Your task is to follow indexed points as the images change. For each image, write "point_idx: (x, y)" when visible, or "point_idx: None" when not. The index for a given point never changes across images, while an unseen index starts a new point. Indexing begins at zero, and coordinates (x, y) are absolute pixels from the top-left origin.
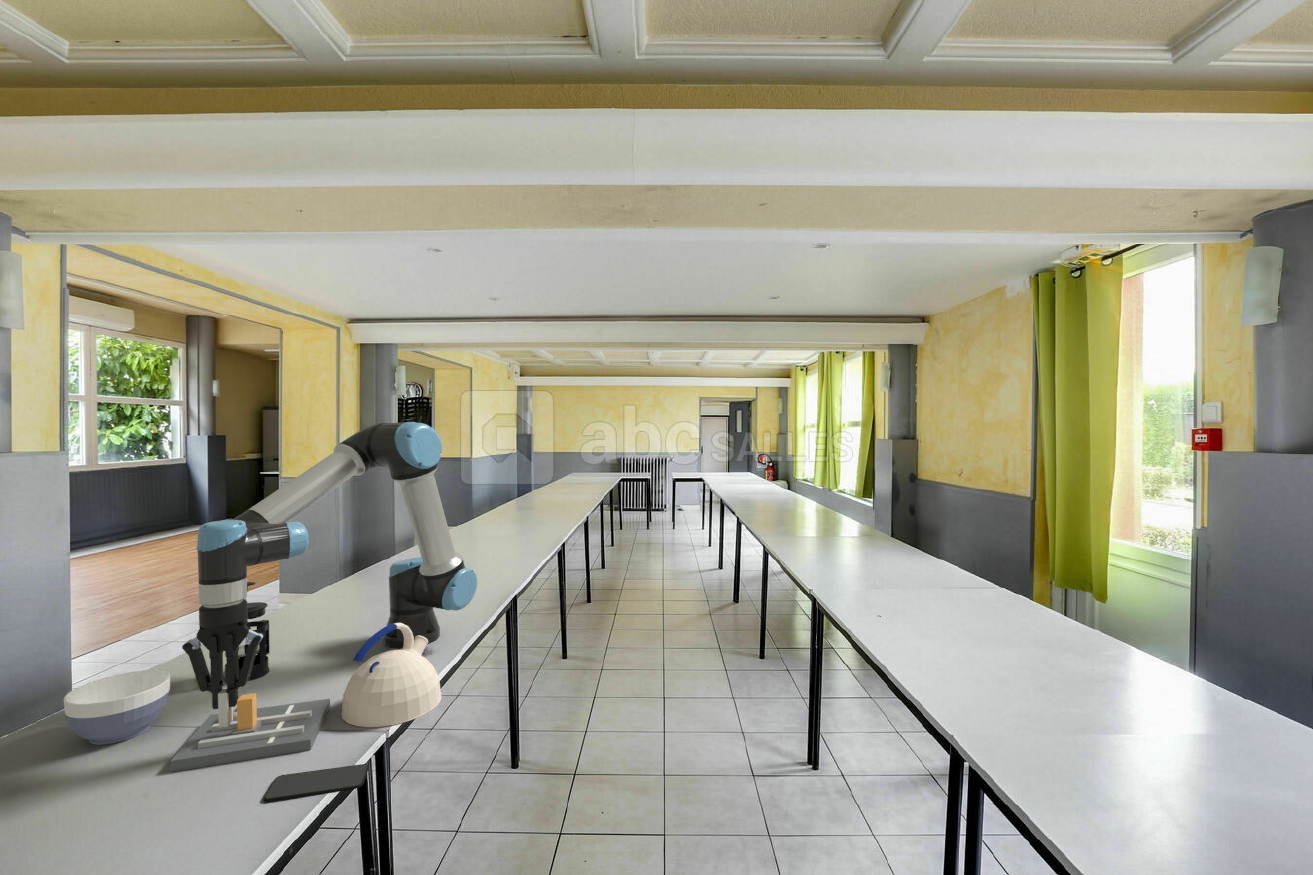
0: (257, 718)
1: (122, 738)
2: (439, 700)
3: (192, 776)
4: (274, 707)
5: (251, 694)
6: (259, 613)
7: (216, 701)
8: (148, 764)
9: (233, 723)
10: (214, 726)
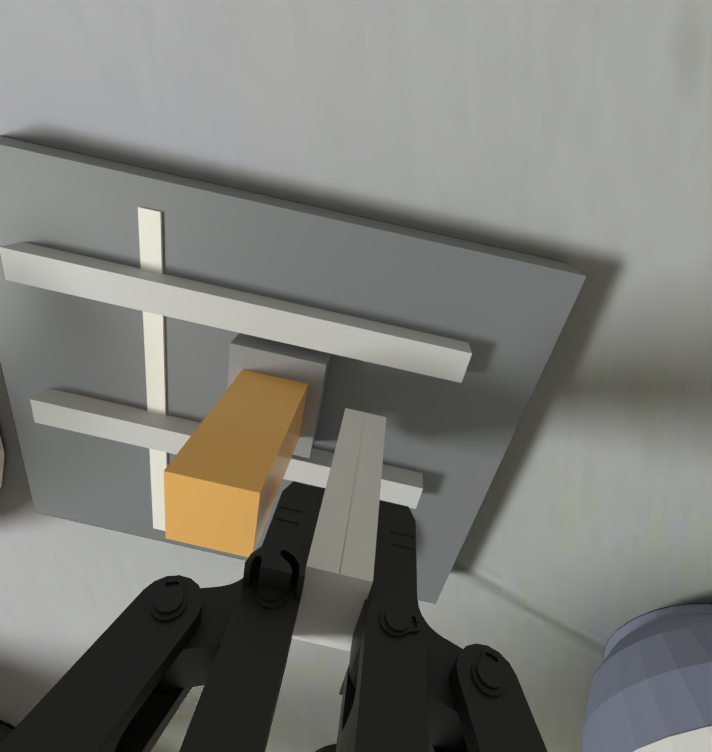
0: None
1: (694, 612)
2: None
3: (481, 153)
4: None
5: (190, 534)
6: None
7: (390, 544)
8: (638, 388)
9: None
10: (412, 486)
